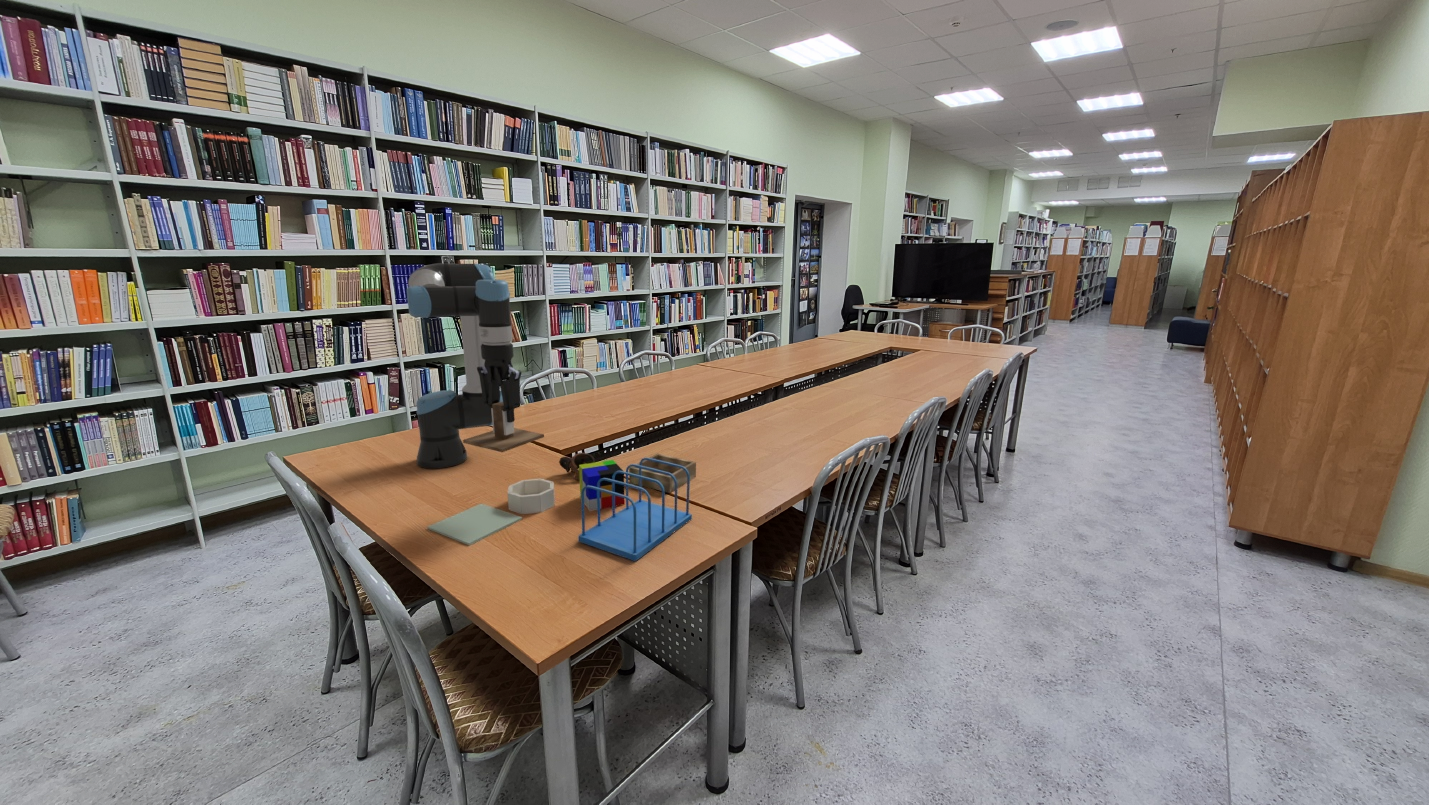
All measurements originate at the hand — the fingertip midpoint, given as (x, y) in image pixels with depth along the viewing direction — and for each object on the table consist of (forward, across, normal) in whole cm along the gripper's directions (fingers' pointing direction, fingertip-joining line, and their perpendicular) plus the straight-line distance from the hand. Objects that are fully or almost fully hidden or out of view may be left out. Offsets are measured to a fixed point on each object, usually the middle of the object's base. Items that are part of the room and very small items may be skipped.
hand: (503, 432), depth 140 cm
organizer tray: (+23, +24, +40) cm, 52 cm away
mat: (+23, -2, -9) cm, 24 cm away
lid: (+2, 0, 0) cm, 2 cm away
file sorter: (+23, +36, +9) cm, 43 cm away
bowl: (+23, +1, +7) cm, 24 cm away
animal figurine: (+23, -2, +30) cm, 38 cm away
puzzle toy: (+23, +17, +18) cm, 34 cm away
